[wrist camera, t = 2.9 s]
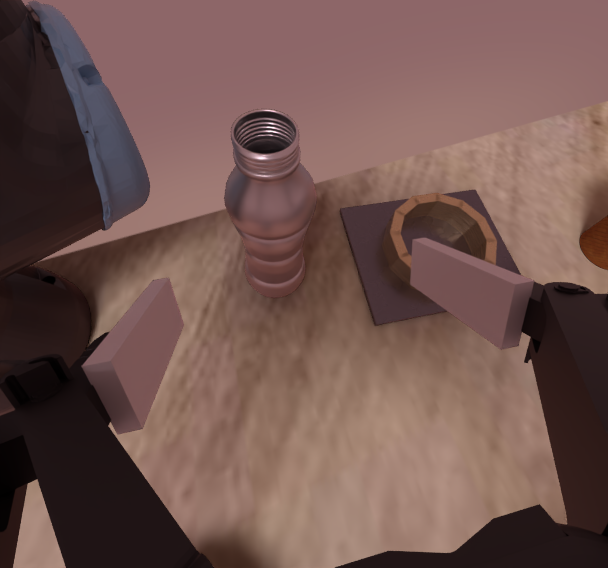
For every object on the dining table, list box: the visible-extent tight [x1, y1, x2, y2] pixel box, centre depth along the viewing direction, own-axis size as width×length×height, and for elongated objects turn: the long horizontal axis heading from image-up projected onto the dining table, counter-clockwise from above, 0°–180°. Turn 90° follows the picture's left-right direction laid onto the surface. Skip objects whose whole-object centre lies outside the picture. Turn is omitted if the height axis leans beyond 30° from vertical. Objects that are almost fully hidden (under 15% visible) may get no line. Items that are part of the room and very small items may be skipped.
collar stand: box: [340, 190, 521, 326], centre depth 35 cm, size 20×16×4 cm
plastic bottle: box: [224, 109, 317, 298], centre depth 24 cm, size 6×7×20 cm
